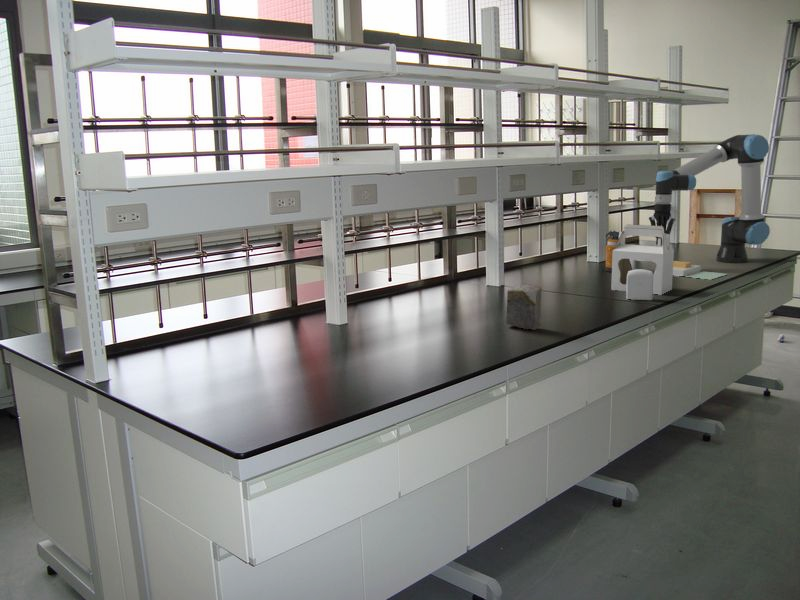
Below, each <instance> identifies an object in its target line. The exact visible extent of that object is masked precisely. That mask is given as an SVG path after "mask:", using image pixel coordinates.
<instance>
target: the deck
mask: <svg viewBox="0 0 800 600" xmlns="http://www.w3.org/2000/svg"><path fill="white" fill-rule="evenodd" d="M655 270H656V267H655ZM655 270H654V271H655ZM701 270H702V265H697V264H691V267H688V268H679V267H673V275H674V276H673V277H679V276H687V275H690V274H693V273H696V272H700V271H701ZM701 272H702V271H701Z"/></svg>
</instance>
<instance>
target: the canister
mask: <svg viewBox="0 0 800 600" xmlns="http://www.w3.org/2000/svg"><path fill="white" fill-rule="evenodd" d="M619 232H620V231H616V230H613V231H612V230H610V231H609V232H607V234H605V239H606V240H605V241H606V246H605V260H604V261H605V269H604V270H605V271H607V272H608V273H612V257H613V249H614V247H615V245H616V243H617V241H618V239H619Z"/></svg>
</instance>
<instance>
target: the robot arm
mask: <svg viewBox="0 0 800 600" xmlns="http://www.w3.org/2000/svg"><path fill="white" fill-rule="evenodd" d="M769 150H770V144H769V141H768V139H766V137H764V136H763V135H760V134H755V133H754V134H737V135H733V136H731V137H729V138H727V139H725V140H723V141H721V142H719V143H717V144H715V145H714V146H713V148H712V149H711V150H709V151H707V152H704V153H703V154H702V155H699V156H697V157H695V158H693V159H692V160H690V161H688V162H687V163H685V164H682V165H681V166H679V167H677V168H675V169H674V170H660V171H658V172H657V173H656V178H655V196H654V213H653V215H652V216H649V217H648V221H649V222H650V226H663V227H664V233H666V234H670V235H671V232H672V228H673V225H674V223H675V221H676V220H677V219H676V218H675V217H673V216H672V214H671V210H672V204H671V203H672V196H673V195H672V194H673V191H677V192H679V191H686V192H687V191H693V190H694V189H695V188H696V186H697V178H696V176H697V175H699V174H701V173H702V172H705V171H706V170H709V169H710V168H712V167H713V166H716V165H718V164H719V163H725V162H727V161H730V160H736V159H737V164H738V165H739V166H740V168H741V169H740V172H741V174H740V175H741V178H740V179H741V215H740V216H730V217H729V216H728V217H724V218H722V222H721V234H720V235H721V237H720V246H719V249H718V252H717V253H716V257H715V260H716V261H717V262H723V263H732V264H733V263H747V262H748V261H749V260H748V259H749V255H748V253H747V249H746V244H748V245H751V246H752V245H753V246H754V245H755V246H756V245H757V246H758V245H761V244H763V243H764V242H765V241H766V240H767V239H768V237H769V235H770V232H771V231H770V230H771V228H770V226H769V224H768V223H766V222H765V216H764V215H763V214H762V198H761V197H762V196H761V195H762V192H761V189H762V186H761V185H762V184H761V183H762V182H761V178H762V177H761V165H762V164H763V163H764V162H765V157H767V155H768V153H769ZM655 238H656V239H655V244H656V245H655V246H662V238H661V237H655Z"/></svg>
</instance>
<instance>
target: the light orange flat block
mask: <svg viewBox="0 0 800 600" xmlns="http://www.w3.org/2000/svg"><path fill="white" fill-rule="evenodd" d="M691 265H692V261H691V262H689V261H681V260H673V267H679V268H688V267H691Z"/></svg>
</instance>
